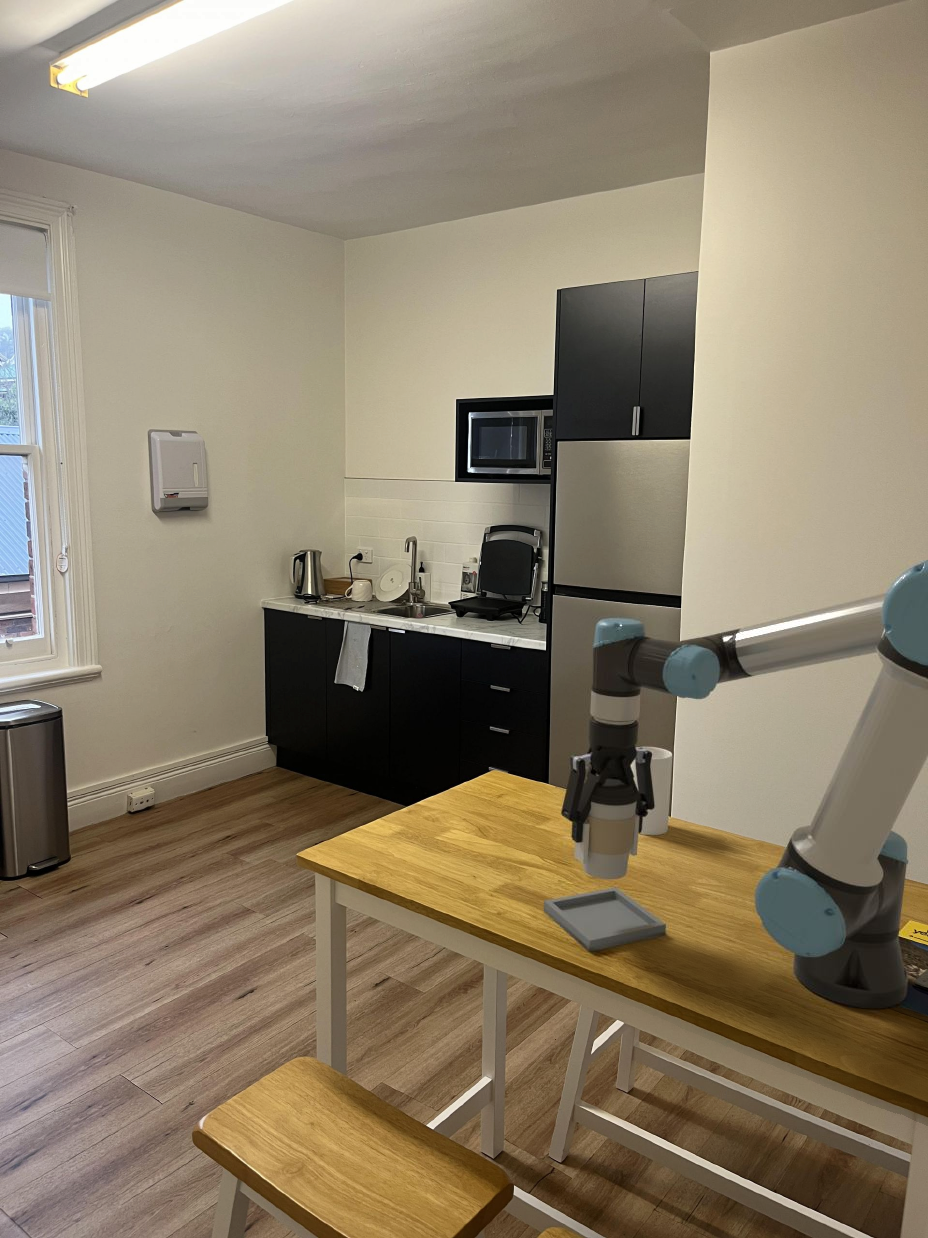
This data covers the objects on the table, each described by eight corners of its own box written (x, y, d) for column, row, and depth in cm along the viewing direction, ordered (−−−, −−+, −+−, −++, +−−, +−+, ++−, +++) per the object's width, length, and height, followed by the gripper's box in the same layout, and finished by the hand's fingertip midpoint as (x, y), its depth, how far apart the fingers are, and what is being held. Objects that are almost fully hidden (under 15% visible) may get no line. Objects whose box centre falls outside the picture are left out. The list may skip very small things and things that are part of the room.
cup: (671, 836, 183) (676, 759, 181) (630, 834, 183) (634, 758, 181) (663, 820, 191) (667, 747, 189) (623, 819, 191) (628, 746, 189)
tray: (665, 935, 143) (666, 924, 143) (588, 952, 137) (589, 940, 137) (615, 897, 156) (615, 887, 155) (543, 911, 150) (544, 900, 150)
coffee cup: (632, 886, 140) (638, 792, 138) (573, 879, 142) (578, 786, 139) (633, 862, 149) (639, 773, 146) (578, 855, 150) (583, 768, 148)
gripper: (656, 707, 149) (647, 838, 152) (542, 717, 140) (535, 856, 144) (685, 718, 142) (675, 856, 146) (567, 730, 133) (559, 876, 137)
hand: (605, 856), depth 145 cm, fingers closed on coffee cup, 8 cm apart
